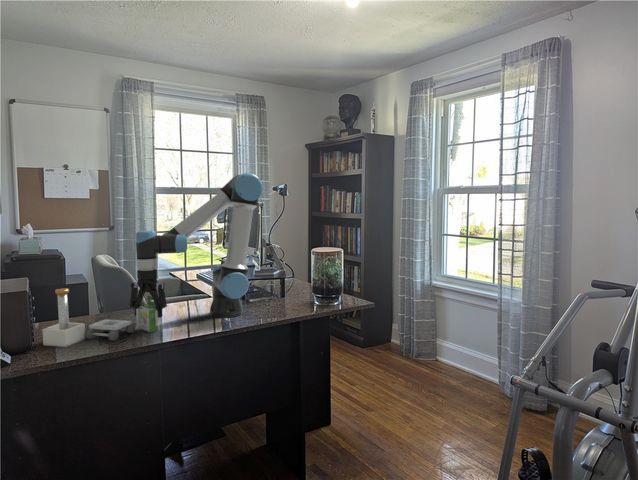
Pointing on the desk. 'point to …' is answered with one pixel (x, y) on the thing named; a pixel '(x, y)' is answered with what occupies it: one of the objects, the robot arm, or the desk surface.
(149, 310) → the ink box
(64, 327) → the orange capped clear tube
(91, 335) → the cart
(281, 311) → the desk surface
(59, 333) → the tray
